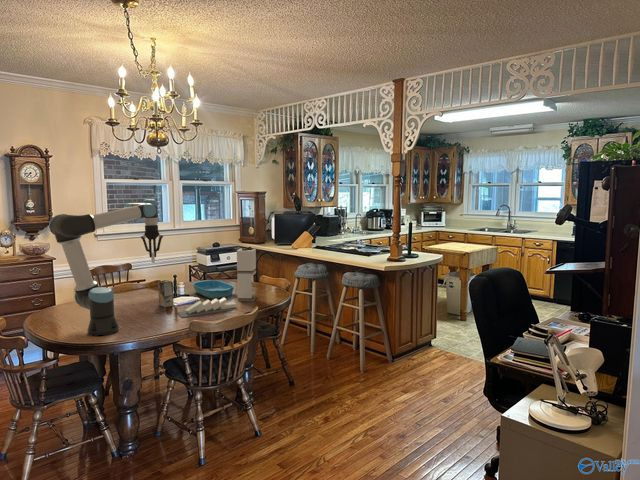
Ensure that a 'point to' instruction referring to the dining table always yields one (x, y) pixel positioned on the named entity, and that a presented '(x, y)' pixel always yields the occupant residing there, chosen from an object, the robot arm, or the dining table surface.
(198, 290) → the casserole dish
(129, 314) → the dining table surface
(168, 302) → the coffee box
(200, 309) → the domino
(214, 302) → the domino
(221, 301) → the domino
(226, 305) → the domino
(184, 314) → the runner mat
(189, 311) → the domino
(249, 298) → the gray square tower
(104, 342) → the dining table surface
